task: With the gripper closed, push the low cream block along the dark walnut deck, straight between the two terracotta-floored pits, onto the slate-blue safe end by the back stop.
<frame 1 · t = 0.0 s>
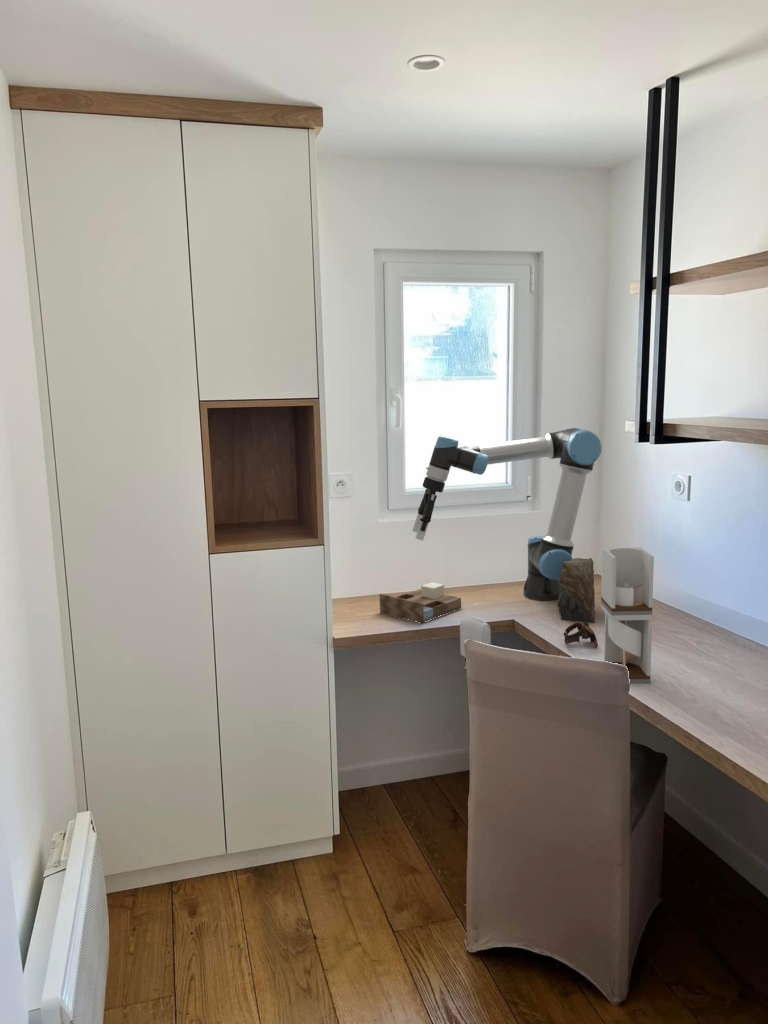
hand: (417, 535, 271), 28 cm above the table, tool tilted 20°, fingers open, 13 cm apart
curved two-tier shelf: (624, 676, 210), on the table
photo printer: (475, 658, 227), on the table
brown curved openwork arch: (581, 645, 236), on the table
cream block: (432, 595, 280), point 4 cm above the table, touching trap deck
trap deck: (420, 610, 275), on the table
brown rock: (579, 618, 261), on the table
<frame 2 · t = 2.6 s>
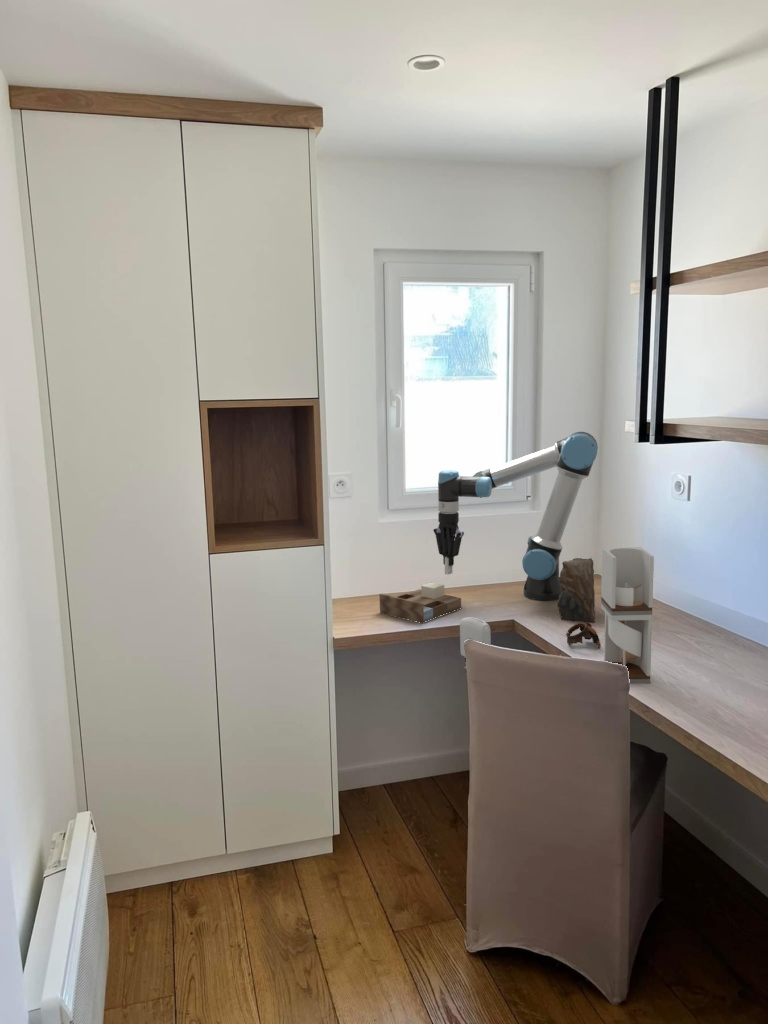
hand: (448, 573, 286), 10 cm above the table, tool pointing down, fingers closed
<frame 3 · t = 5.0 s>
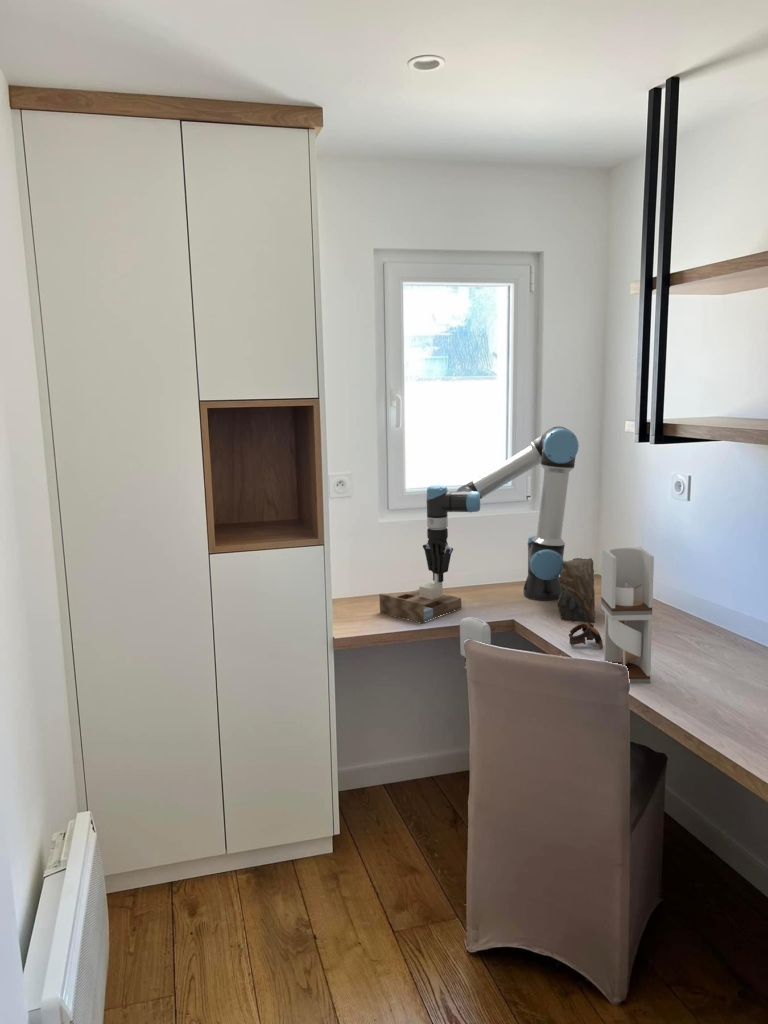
hand: (438, 590, 282), 5 cm above the table, tool pointing down, fingers closed
cream block: (431, 596, 279), point 4 cm above the table, touching trap deck
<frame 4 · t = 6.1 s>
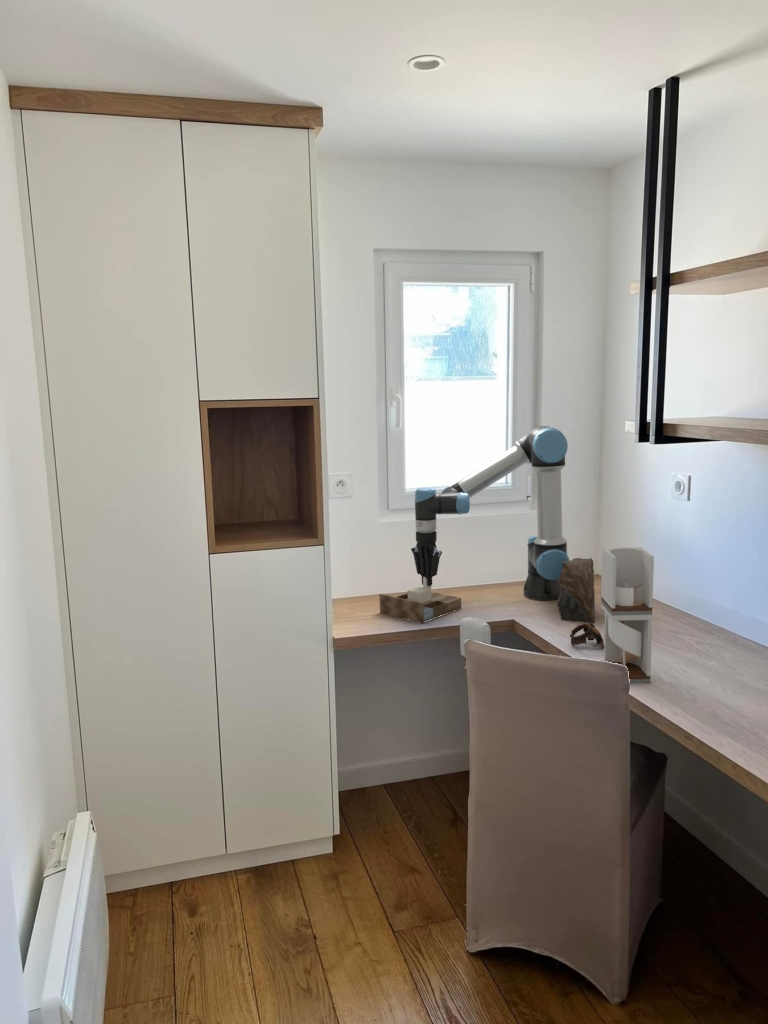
hand: (427, 593, 277), 5 cm above the table, tool pointing down, fingers closed
cream block: (419, 600, 274), point 4 cm above the table, touching gripper, trap deck
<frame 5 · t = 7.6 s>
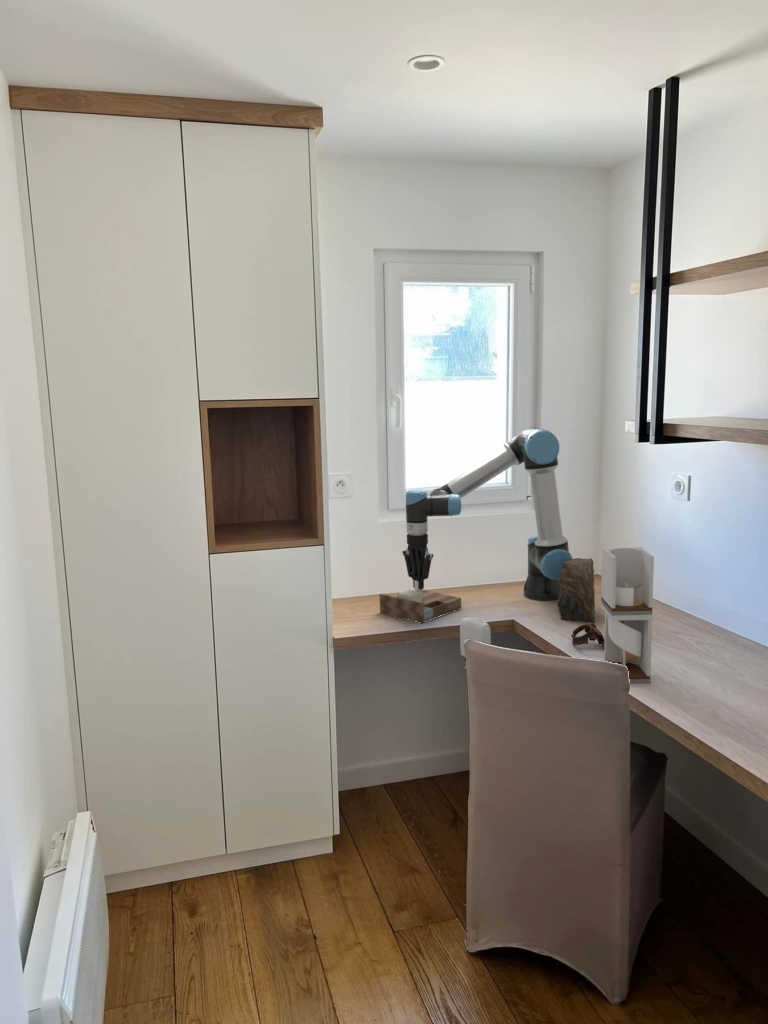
hand: (418, 597, 274), 5 cm above the table, tool pointing down, fingers closed
cream block: (410, 603, 271), point 4 cm above the table, touching gripper, trap deck
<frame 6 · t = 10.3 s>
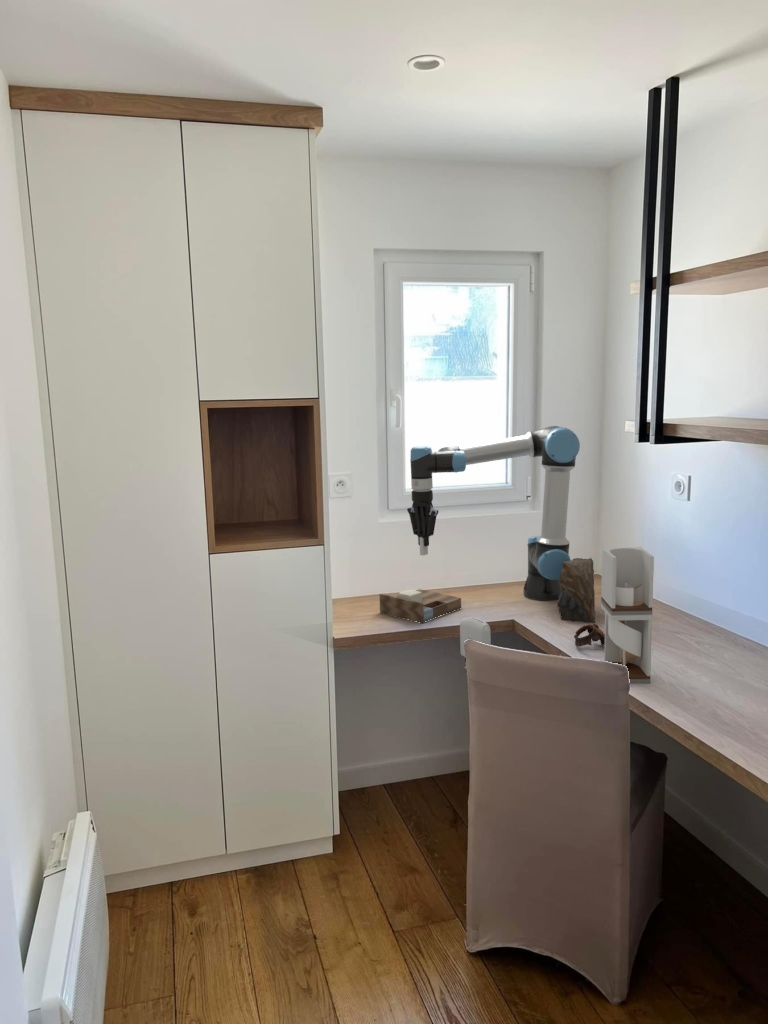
hand: (424, 554, 274), 20 cm above the table, tool pointing down, fingers closed
cream block: (410, 603, 271), point 4 cm above the table, touching trap deck
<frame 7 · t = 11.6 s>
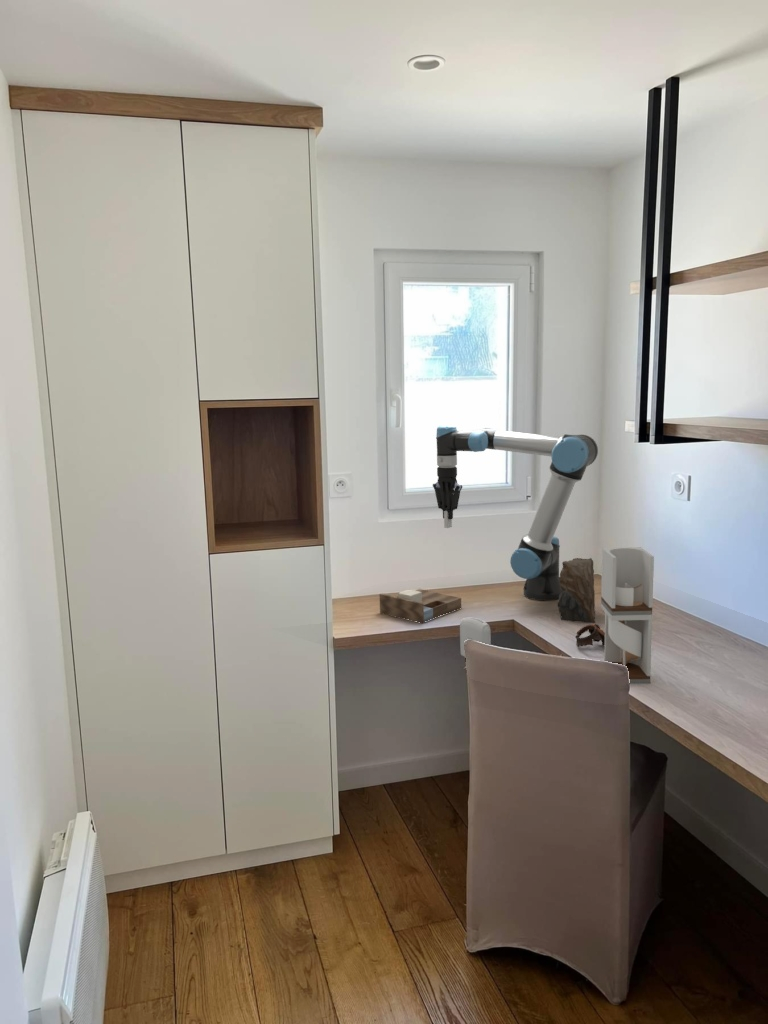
hand: (448, 527, 292), 26 cm above the table, tool pointing down, fingers closed
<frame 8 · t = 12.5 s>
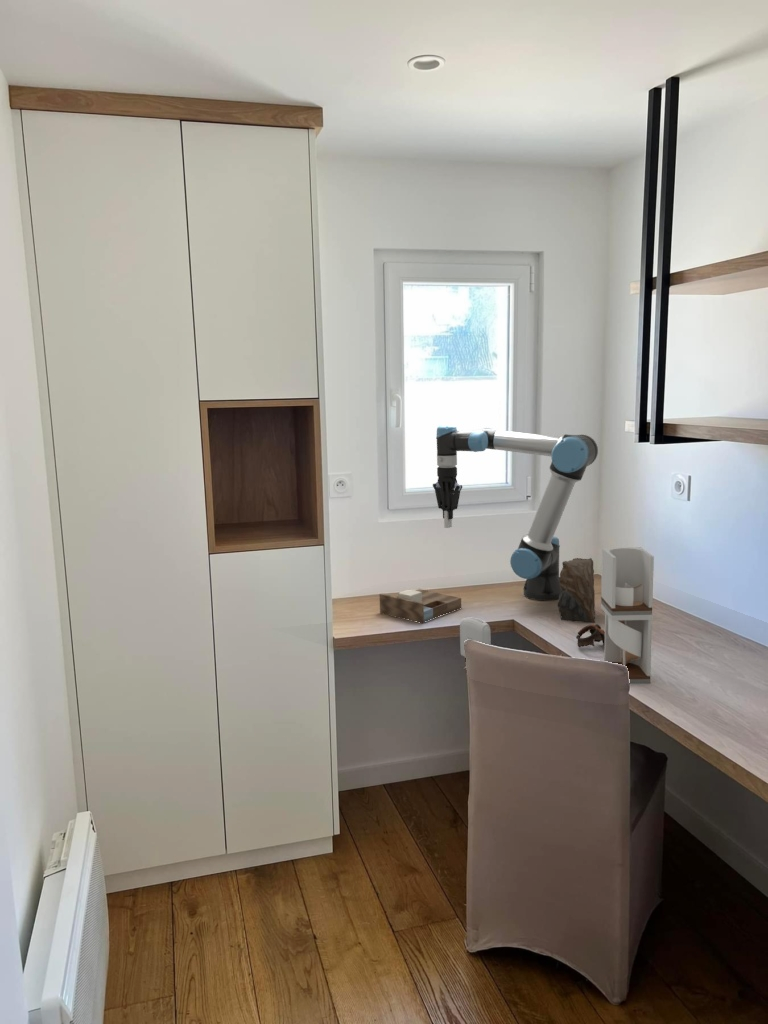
hand: (448, 527, 292), 26 cm above the table, tool pointing down, fingers closed
at the end: cream block inside the target area on the trap deck (1.7 cm from its centre), point 4.0 cm above the trap deck's base; cream block tilted 0° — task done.
